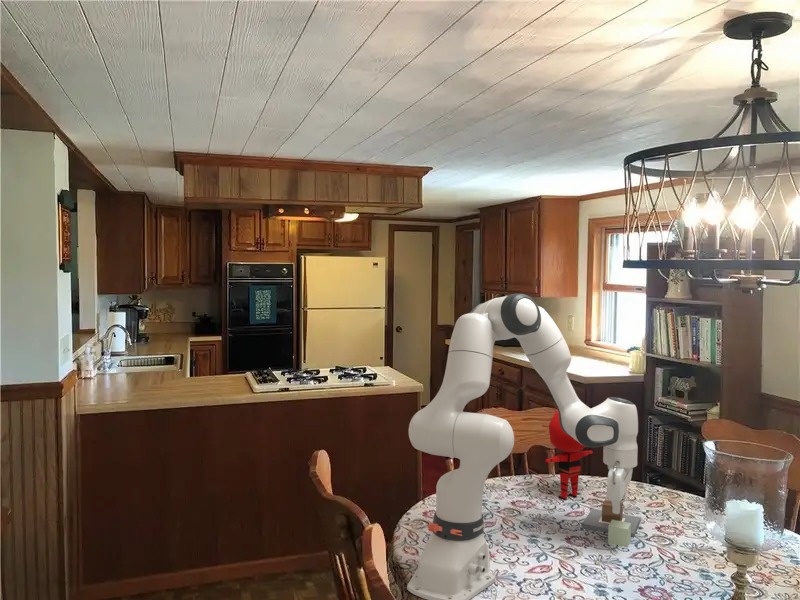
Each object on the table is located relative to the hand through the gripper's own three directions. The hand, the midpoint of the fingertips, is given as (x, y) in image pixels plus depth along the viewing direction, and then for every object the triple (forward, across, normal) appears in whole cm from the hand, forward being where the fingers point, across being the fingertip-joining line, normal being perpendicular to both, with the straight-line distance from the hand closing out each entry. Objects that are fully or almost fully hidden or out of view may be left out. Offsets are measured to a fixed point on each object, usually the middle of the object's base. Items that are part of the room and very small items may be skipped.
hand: (618, 507), depth 171 cm
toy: (+10, +27, +19) cm, 35 cm away
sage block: (+9, -1, 0) cm, 9 cm away
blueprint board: (+10, +11, +3) cm, 15 cm away
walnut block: (+8, +11, +3) cm, 14 cm away
